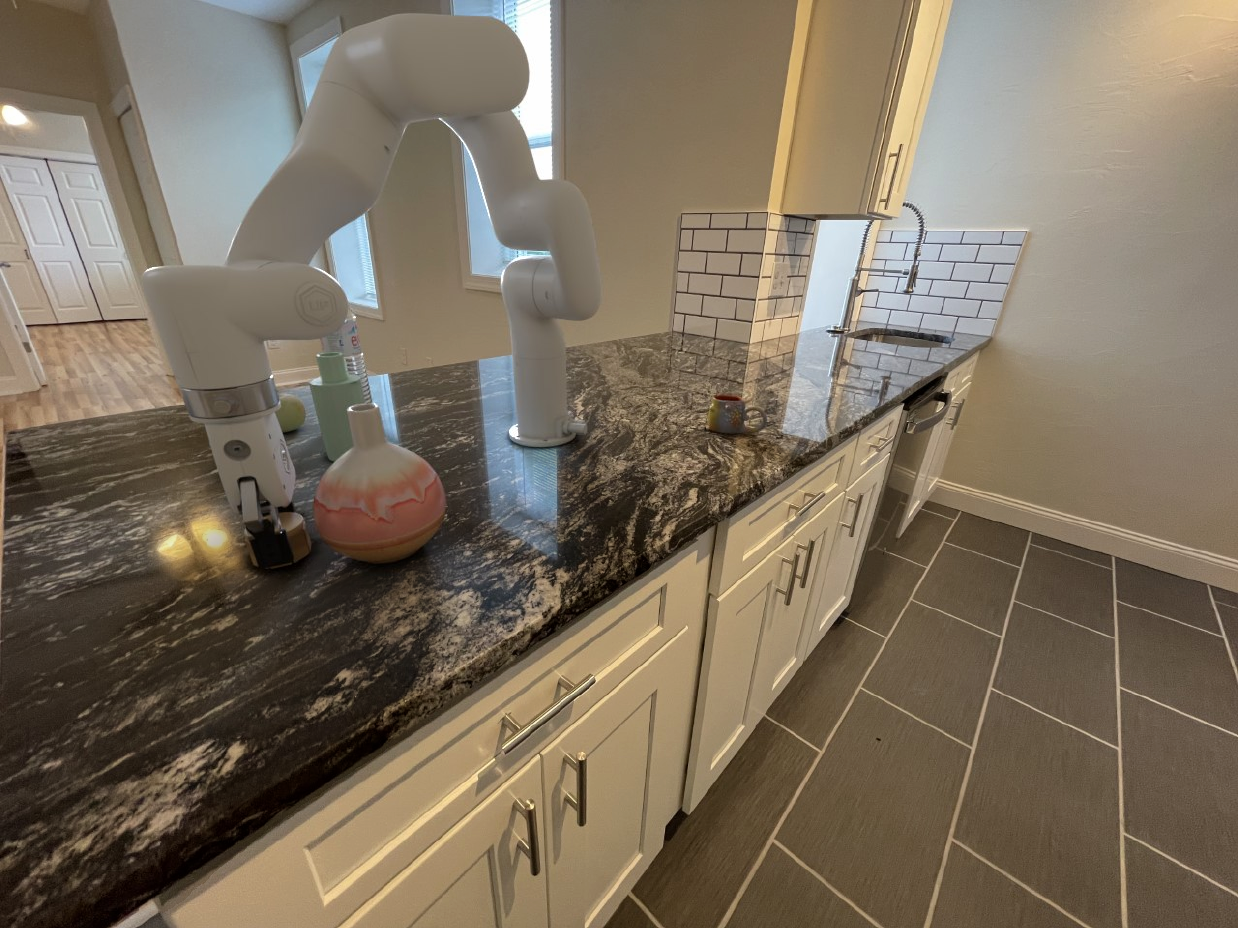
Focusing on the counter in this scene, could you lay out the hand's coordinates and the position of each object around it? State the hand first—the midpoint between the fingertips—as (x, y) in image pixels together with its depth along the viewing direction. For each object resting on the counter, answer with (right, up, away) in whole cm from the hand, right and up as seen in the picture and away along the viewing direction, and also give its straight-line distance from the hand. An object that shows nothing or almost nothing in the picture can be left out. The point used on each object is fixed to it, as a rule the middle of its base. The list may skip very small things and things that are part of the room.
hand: (280, 545), depth 56 cm
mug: (+62, +16, +41) cm, 76 cm away
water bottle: (-15, +19, +44) cm, 50 cm away
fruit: (-24, +16, +37) cm, 47 cm away
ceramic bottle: (-7, +11, +27) cm, 30 cm away
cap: (0, -1, 0) cm, 1 cm away
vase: (+12, -1, +2) cm, 12 cm away
